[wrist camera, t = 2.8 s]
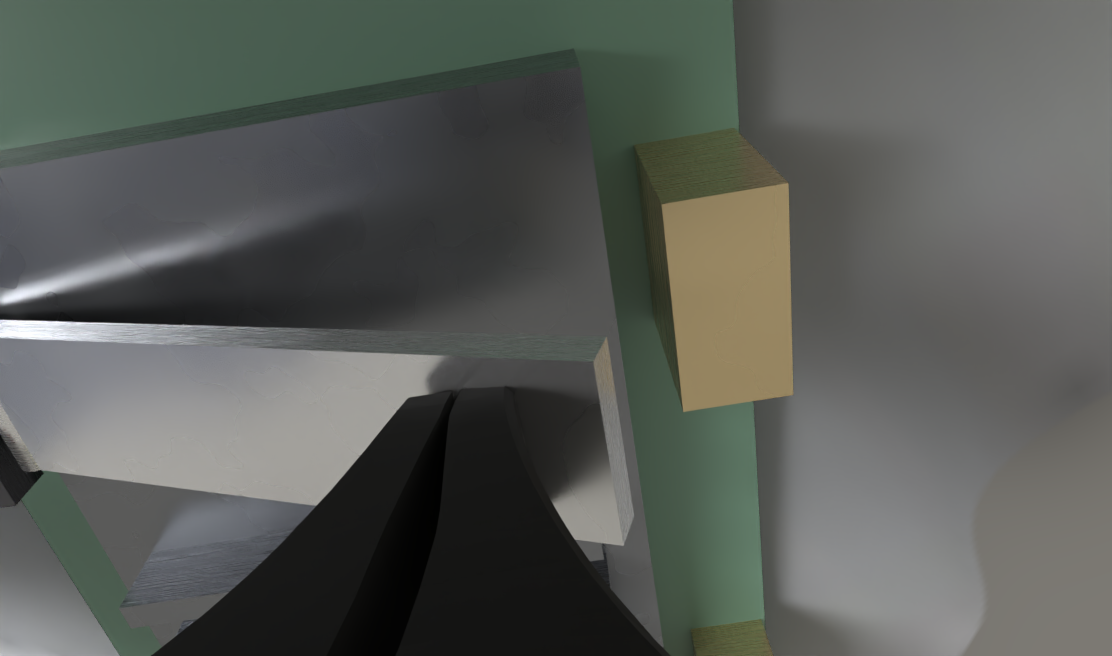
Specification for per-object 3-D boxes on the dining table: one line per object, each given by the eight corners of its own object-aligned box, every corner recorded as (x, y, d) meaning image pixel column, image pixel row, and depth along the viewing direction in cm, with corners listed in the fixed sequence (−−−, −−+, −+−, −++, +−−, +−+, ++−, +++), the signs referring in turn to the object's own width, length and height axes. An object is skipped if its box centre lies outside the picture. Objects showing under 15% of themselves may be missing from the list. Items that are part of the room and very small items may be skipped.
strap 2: (47, 445, 16) (12, 469, 15) (-29, 316, 14) (-71, 338, 14) (635, 511, 11) (622, 550, 11) (609, 332, 10) (590, 365, 9)
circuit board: (265, 840, 28) (256, 871, 27) (-234, 15, 15) (-283, 21, 14) (766, 775, 27) (774, 803, 26) (711, -164, 14) (724, -169, 13)
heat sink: (269, 816, 25) (232, 944, 22) (-109, 169, 15) (-278, 237, 12) (768, 749, 25) (804, 873, 21) (728, 20, 14) (785, 50, 11)
